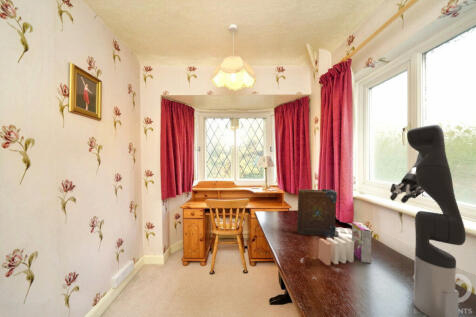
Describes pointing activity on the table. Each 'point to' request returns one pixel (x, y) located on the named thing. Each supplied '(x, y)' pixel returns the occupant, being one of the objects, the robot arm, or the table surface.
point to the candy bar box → (362, 241)
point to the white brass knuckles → (344, 233)
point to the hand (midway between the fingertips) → (397, 200)
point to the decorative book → (316, 212)
